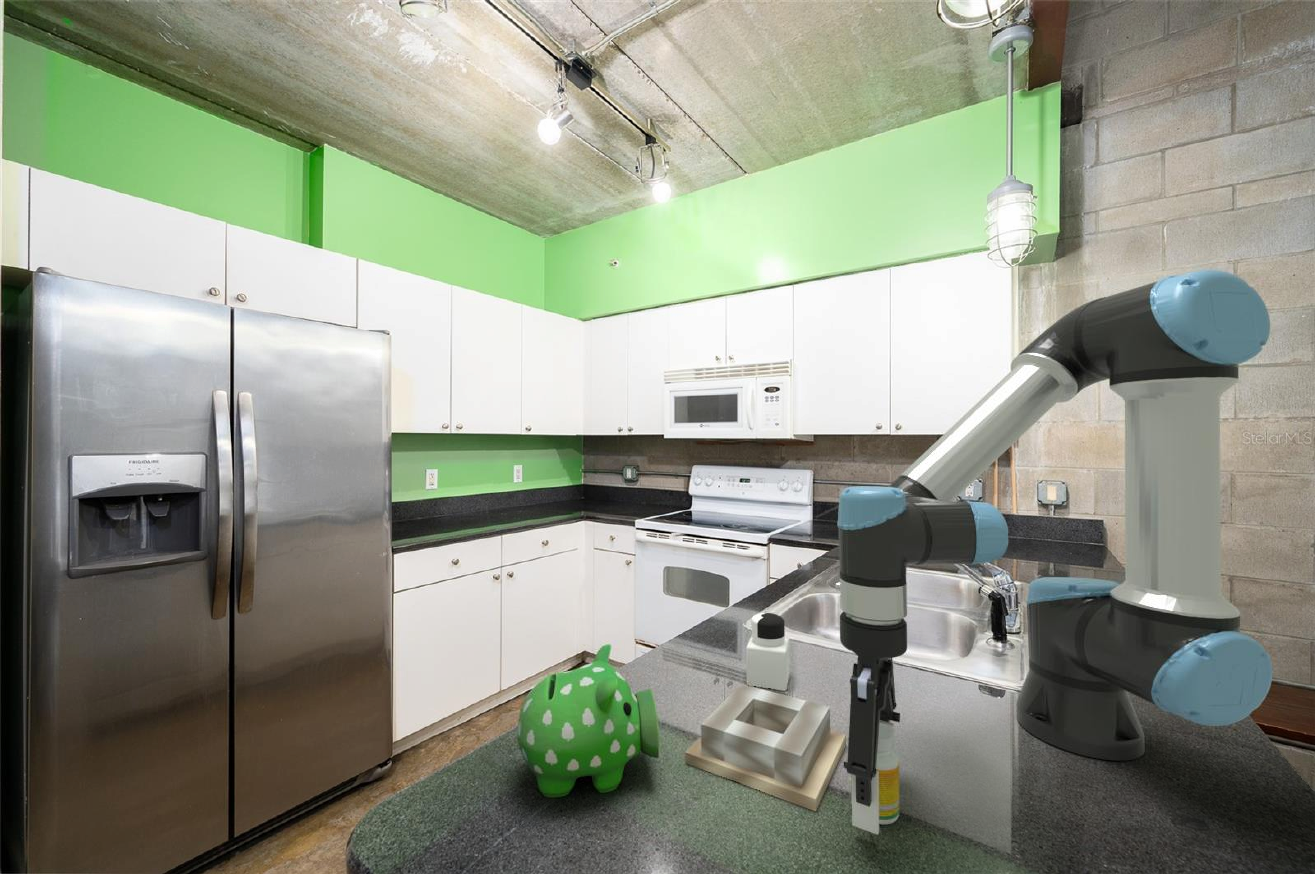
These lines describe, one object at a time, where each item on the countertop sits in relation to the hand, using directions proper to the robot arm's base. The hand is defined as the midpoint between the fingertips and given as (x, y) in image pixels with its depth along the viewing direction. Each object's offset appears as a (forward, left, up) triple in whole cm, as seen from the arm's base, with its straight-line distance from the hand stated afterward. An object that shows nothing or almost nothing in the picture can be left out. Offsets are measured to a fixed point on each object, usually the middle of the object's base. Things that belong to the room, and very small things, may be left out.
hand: (874, 797), depth 62 cm
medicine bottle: (+23, -26, -2) cm, 35 cm away
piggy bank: (+34, +13, -2) cm, 36 cm away
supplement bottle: (0, 0, -2) cm, 2 cm away
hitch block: (+15, -4, -1) cm, 16 cm away
